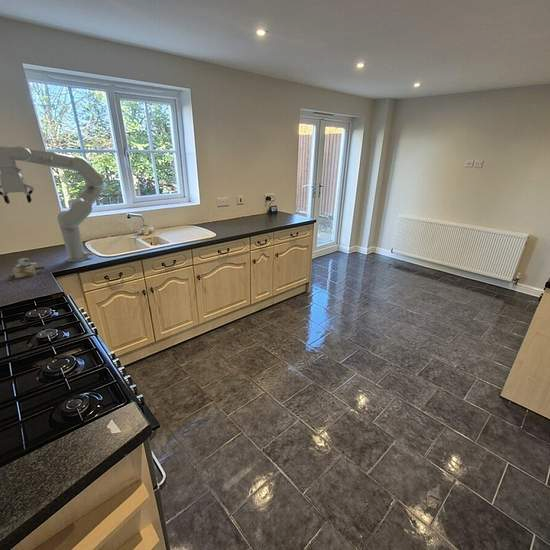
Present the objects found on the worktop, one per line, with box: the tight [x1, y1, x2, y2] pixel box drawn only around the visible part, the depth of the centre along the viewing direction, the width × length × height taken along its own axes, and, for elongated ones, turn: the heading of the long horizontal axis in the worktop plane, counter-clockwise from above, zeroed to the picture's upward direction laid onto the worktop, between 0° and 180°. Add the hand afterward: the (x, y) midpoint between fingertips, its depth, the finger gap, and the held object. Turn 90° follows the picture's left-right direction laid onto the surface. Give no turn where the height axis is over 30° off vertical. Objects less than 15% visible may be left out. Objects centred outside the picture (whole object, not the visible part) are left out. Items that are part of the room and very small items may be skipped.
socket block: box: [12, 262, 46, 279], centre depth 171 cm, size 13×9×5 cm
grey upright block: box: [17, 257, 31, 268], centre depth 170 cm, size 3×6×9 cm, turn 85°
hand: (19, 202), depth 169 cm, fingers open, 9 cm apart
